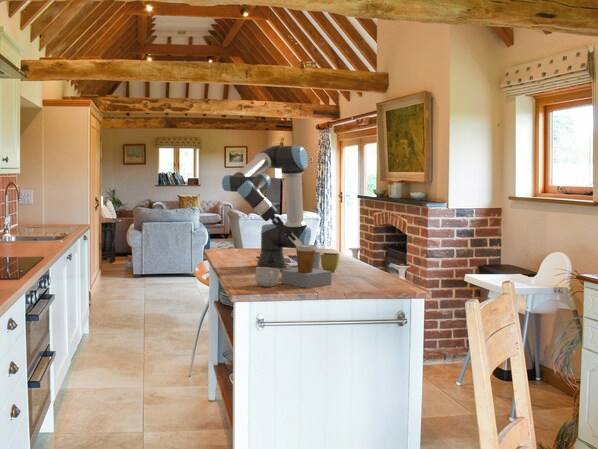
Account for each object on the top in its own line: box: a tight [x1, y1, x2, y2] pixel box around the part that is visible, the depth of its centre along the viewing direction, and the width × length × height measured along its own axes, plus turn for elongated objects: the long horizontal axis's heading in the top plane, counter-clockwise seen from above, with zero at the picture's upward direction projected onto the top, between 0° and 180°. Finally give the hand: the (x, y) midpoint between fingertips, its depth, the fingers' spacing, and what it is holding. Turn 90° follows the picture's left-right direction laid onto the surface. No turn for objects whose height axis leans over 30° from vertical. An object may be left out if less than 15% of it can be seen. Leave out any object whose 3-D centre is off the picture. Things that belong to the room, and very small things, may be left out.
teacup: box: [254, 266, 281, 288], centre depth 290 cm, size 14×11×8 cm
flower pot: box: [320, 252, 340, 273], centre depth 340 cm, size 9×9×9 cm
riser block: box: [281, 267, 333, 289], centre depth 299 cm, size 16×16×6 cm
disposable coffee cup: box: [295, 244, 317, 273], centre depth 295 cm, size 10×10×12 cm
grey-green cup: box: [313, 251, 322, 269], centre depth 318 cm, size 10×10×12 cm
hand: (298, 243), depth 298 cm, fingers open, 13 cm apart
